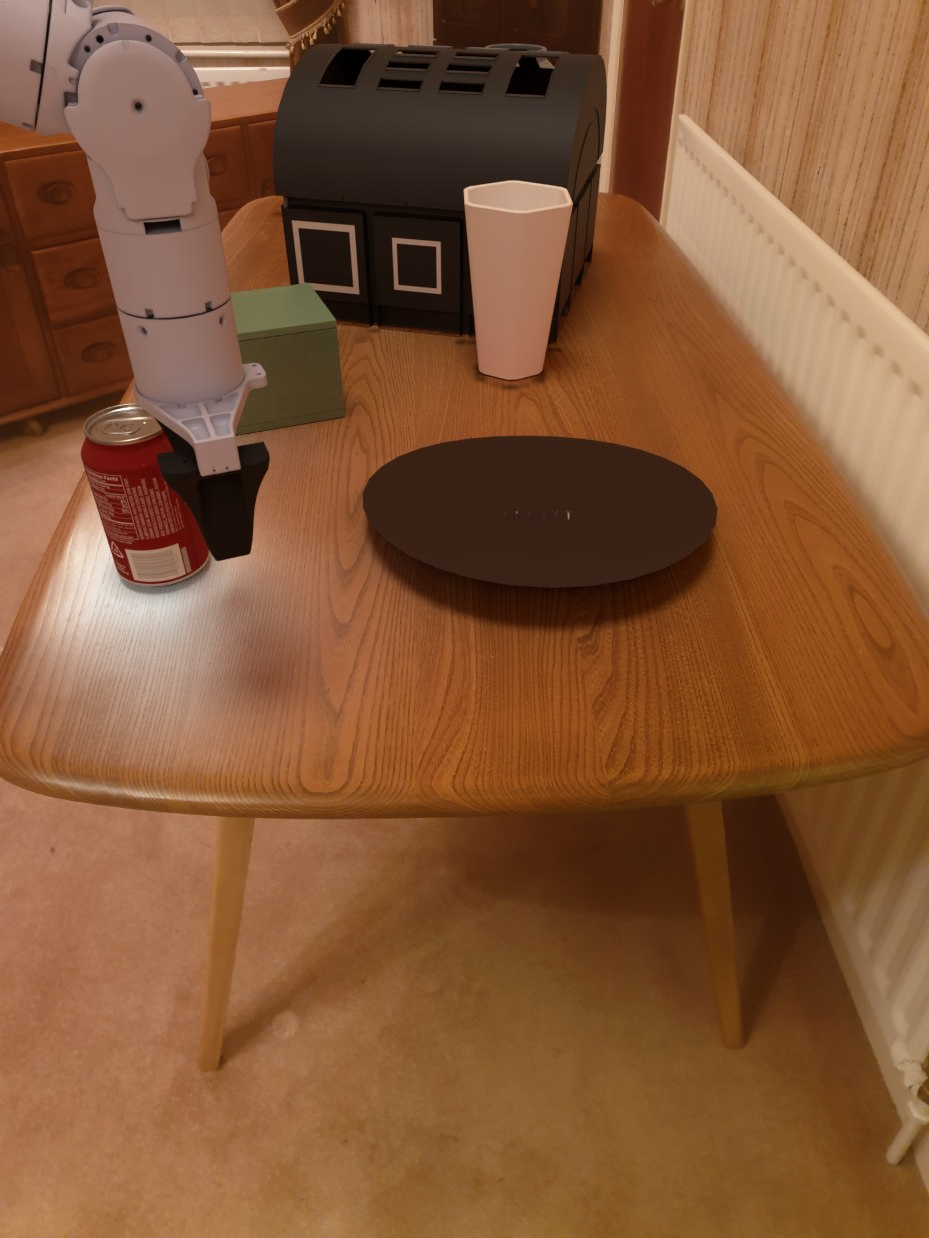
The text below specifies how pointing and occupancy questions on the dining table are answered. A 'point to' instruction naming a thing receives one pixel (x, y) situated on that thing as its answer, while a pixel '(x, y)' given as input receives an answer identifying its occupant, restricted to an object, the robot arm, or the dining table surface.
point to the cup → (515, 271)
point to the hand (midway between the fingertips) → (220, 520)
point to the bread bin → (293, 380)
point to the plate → (540, 510)
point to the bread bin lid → (279, 311)
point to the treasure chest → (427, 171)
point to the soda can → (139, 499)
